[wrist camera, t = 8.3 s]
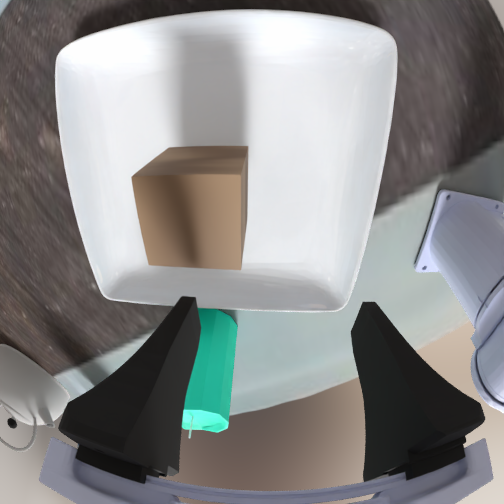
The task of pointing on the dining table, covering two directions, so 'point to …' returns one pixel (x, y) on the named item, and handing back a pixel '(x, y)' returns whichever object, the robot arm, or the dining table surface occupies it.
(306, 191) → the salad plate
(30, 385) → the kettle
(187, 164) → the walnut block
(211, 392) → the candle
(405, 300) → the dining table surface
